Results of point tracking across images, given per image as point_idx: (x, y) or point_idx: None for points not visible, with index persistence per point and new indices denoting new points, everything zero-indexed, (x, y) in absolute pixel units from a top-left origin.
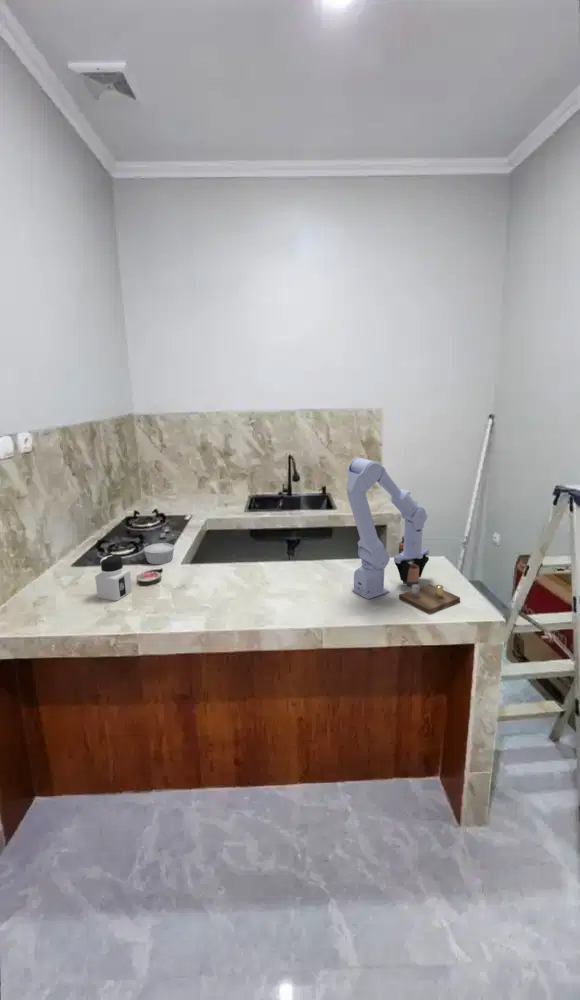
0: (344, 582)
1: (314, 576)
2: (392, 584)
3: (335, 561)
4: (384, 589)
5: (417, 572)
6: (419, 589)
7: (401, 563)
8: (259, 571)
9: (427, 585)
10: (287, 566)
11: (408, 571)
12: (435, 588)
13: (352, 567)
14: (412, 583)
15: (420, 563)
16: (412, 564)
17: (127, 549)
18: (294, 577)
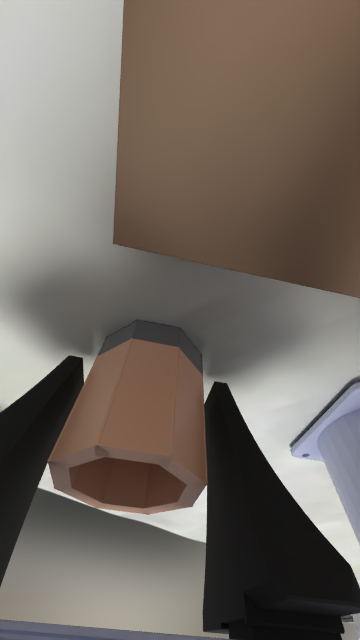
0: (327, 493)
1: (323, 531)
2: (238, 404)
3: (187, 532)
4: (354, 406)
5: (133, 404)
6: (296, 253)
7: (343, 630)
8: (352, 568)
9: (160, 242)
10: None
11: (205, 454)
12: (166, 122)
13: (191, 510)
14: (185, 347)
15: (8, 480)
16: (79, 489)
17: (350, 615)
18: (355, 544)
